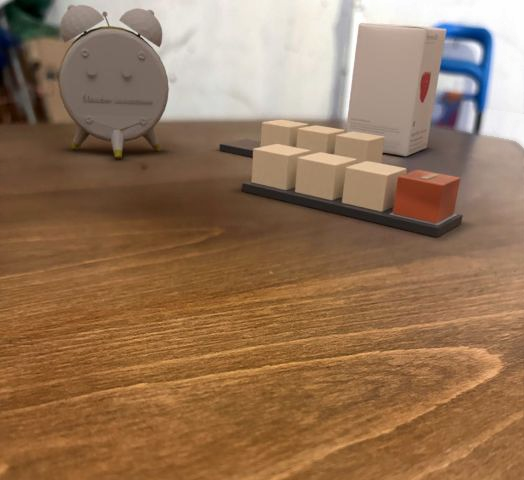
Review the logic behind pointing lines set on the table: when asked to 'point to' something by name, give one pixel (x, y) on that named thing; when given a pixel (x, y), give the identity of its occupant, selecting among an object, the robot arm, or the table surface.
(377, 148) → the left rack
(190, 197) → the table surface
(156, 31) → the alarm clock
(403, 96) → the white product box
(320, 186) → the right rack
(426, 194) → the orange block
